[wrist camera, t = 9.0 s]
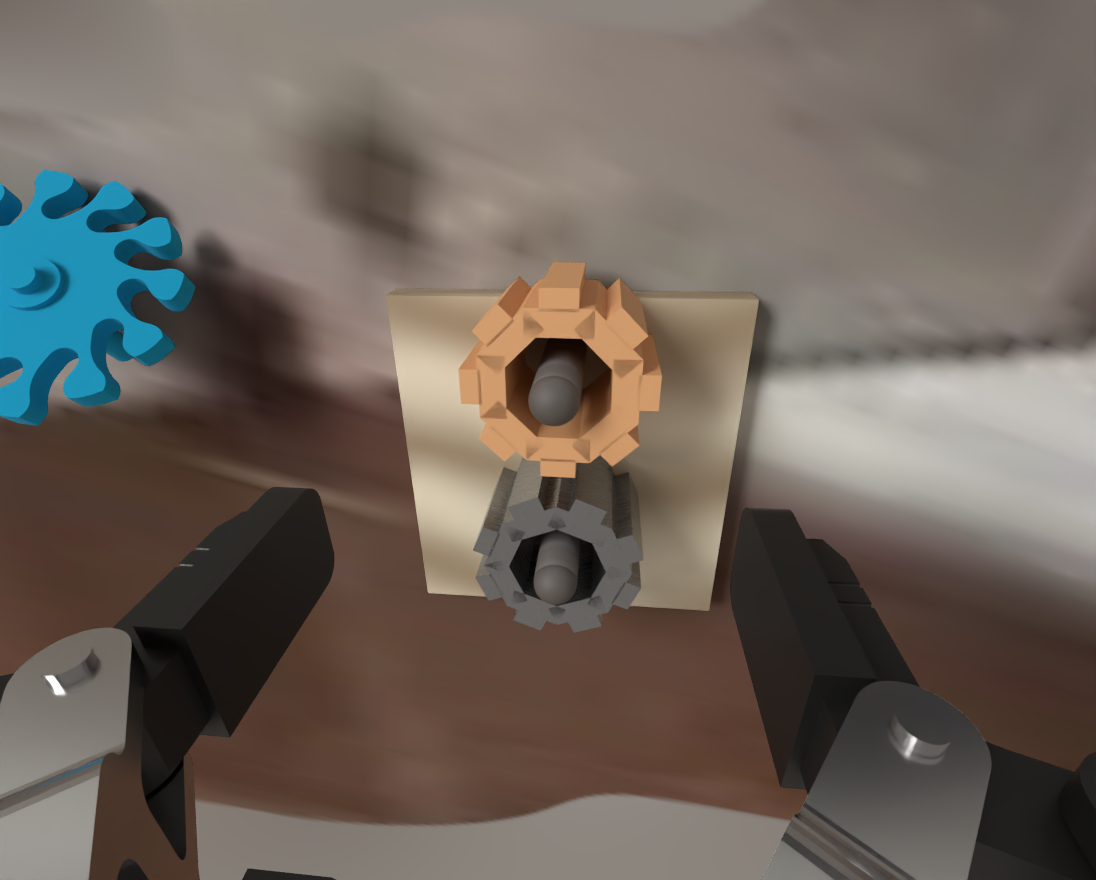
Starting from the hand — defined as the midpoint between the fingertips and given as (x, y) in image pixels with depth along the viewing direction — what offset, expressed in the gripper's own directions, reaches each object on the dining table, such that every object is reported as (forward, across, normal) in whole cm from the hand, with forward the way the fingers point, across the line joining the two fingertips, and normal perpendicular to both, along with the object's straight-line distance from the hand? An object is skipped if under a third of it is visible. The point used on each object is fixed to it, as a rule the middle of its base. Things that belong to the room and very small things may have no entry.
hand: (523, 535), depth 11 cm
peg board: (+14, 0, +6) cm, 15 cm away
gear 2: (+12, 0, +8) cm, 14 cm away
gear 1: (+12, 0, 0) cm, 12 cm away
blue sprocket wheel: (+14, +19, -2) cm, 24 cm away
